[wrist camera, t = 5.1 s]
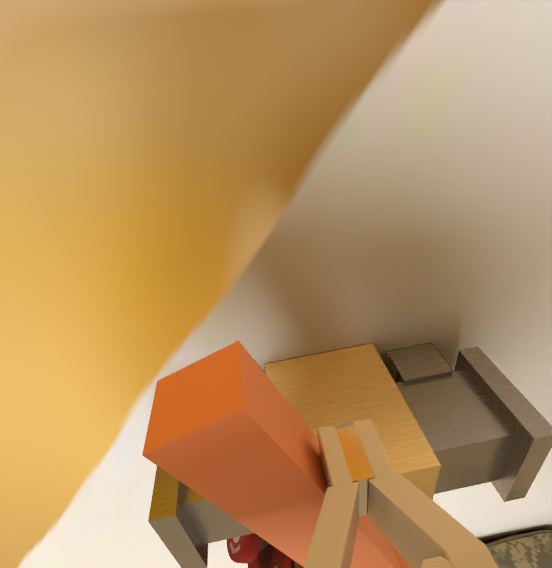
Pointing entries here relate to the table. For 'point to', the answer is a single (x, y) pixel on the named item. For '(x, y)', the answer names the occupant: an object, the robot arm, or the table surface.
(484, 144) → the table surface
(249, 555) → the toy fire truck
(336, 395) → the pipe valve
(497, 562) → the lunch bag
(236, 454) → the lever
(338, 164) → the table surface
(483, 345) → the table surface
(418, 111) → the table surface
